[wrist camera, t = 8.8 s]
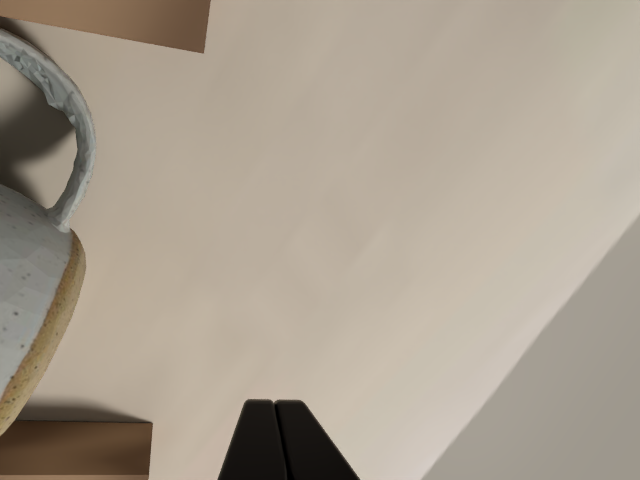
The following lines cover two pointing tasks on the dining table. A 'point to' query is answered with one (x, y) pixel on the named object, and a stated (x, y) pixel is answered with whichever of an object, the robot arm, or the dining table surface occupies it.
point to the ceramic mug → (40, 244)
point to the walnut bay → (96, 437)
